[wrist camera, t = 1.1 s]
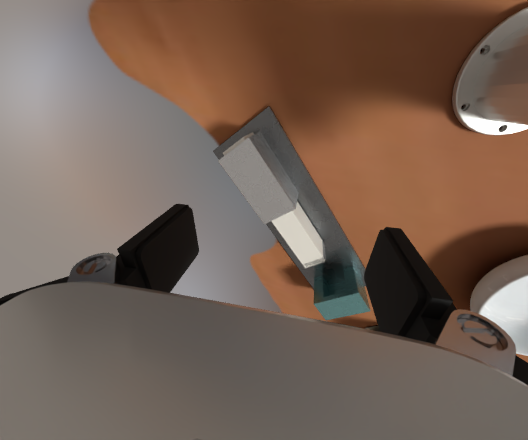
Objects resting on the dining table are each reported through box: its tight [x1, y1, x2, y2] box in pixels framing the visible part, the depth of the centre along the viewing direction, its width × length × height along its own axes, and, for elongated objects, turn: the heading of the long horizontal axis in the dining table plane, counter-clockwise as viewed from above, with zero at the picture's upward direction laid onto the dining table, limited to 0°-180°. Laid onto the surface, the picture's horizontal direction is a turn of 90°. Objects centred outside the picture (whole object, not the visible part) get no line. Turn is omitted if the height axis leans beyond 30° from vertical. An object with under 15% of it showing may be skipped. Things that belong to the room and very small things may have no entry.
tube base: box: [213, 106, 370, 320], centre depth 37 cm, size 39×12×7 cm, turn 35°
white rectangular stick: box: [223, 132, 326, 268], centre depth 35 cm, size 24×4×5 cm, turn 35°
